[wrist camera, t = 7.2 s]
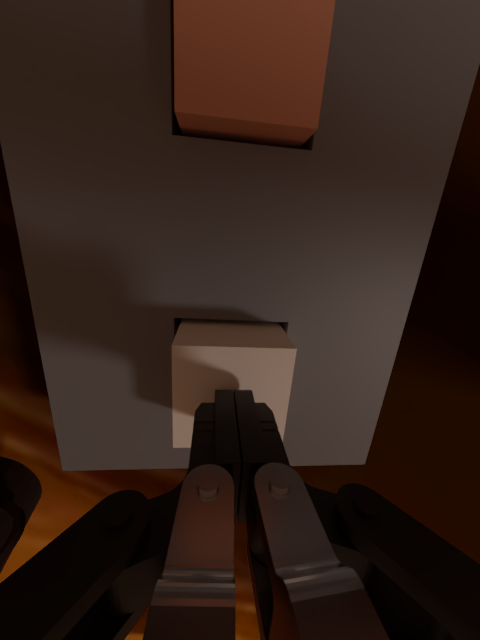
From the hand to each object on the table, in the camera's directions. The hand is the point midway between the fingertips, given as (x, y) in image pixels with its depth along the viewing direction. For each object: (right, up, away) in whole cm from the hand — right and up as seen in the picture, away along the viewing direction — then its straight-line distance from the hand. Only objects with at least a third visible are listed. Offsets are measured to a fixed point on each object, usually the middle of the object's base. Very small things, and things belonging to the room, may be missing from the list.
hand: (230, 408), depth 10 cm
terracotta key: (0, +14, +1) cm, 14 cm away
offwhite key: (0, +1, +4) cm, 5 cm away
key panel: (0, +9, +5) cm, 10 cm away
